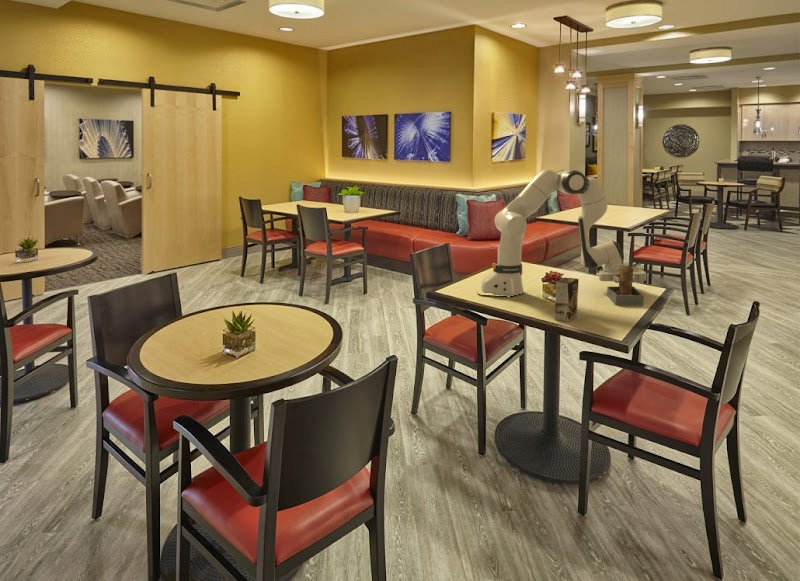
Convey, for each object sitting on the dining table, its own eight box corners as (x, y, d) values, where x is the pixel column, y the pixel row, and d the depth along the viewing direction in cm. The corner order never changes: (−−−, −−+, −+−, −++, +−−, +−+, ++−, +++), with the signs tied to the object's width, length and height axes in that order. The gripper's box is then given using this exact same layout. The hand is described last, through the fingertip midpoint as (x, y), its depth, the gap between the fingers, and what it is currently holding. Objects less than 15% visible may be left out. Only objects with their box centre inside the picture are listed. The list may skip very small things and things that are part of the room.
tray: (615, 305, 245) (616, 295, 244) (606, 295, 260) (607, 286, 259) (643, 305, 243) (644, 295, 242) (632, 295, 258) (633, 286, 257)
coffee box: (569, 322, 225) (571, 283, 220) (553, 319, 228) (555, 281, 224) (577, 316, 232) (579, 278, 227) (562, 313, 235) (563, 276, 231)
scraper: (621, 298, 247) (623, 269, 244) (616, 293, 256) (618, 265, 252) (633, 298, 246) (635, 269, 243) (627, 293, 255) (629, 264, 252)
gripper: (595, 266, 262) (602, 273, 249) (641, 266, 259) (650, 273, 246) (594, 279, 263) (601, 287, 250) (640, 279, 261) (649, 286, 248)
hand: (626, 280), depth 248 cm, fingers closed on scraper, 4 cm apart
